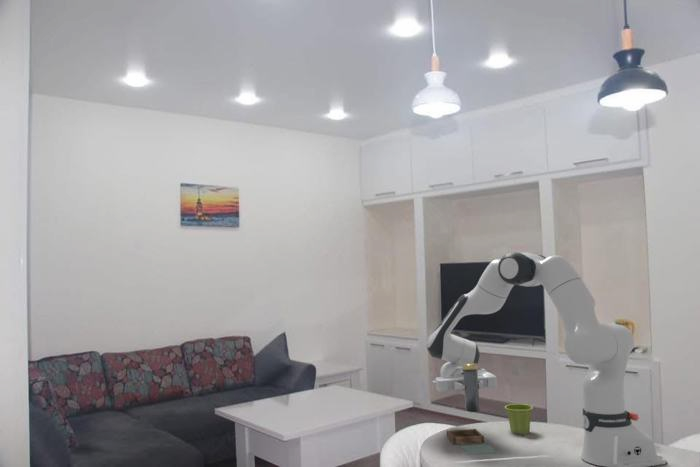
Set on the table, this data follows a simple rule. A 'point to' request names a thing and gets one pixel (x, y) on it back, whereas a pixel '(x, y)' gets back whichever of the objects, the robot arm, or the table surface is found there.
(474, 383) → the pepper mill
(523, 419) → the plant pot
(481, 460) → the table surface
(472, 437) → the tray
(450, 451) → the table surface
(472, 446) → the mat
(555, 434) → the table surface
